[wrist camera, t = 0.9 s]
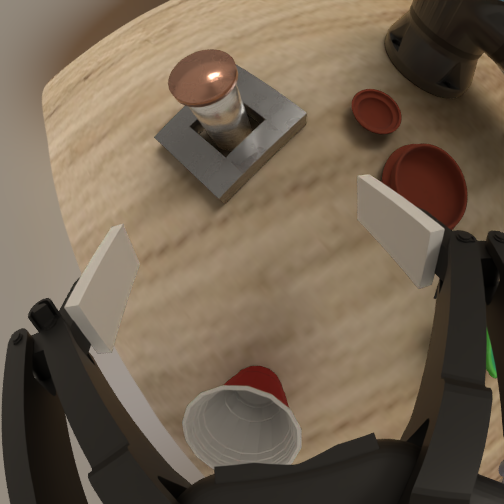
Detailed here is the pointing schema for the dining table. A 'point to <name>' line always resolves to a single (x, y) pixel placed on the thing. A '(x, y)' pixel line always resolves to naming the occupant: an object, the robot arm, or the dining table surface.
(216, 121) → the silver copper-capped cylinder
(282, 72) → the dining table surface
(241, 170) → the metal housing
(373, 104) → the pottery
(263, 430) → the plastic cup
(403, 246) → the robot arm
